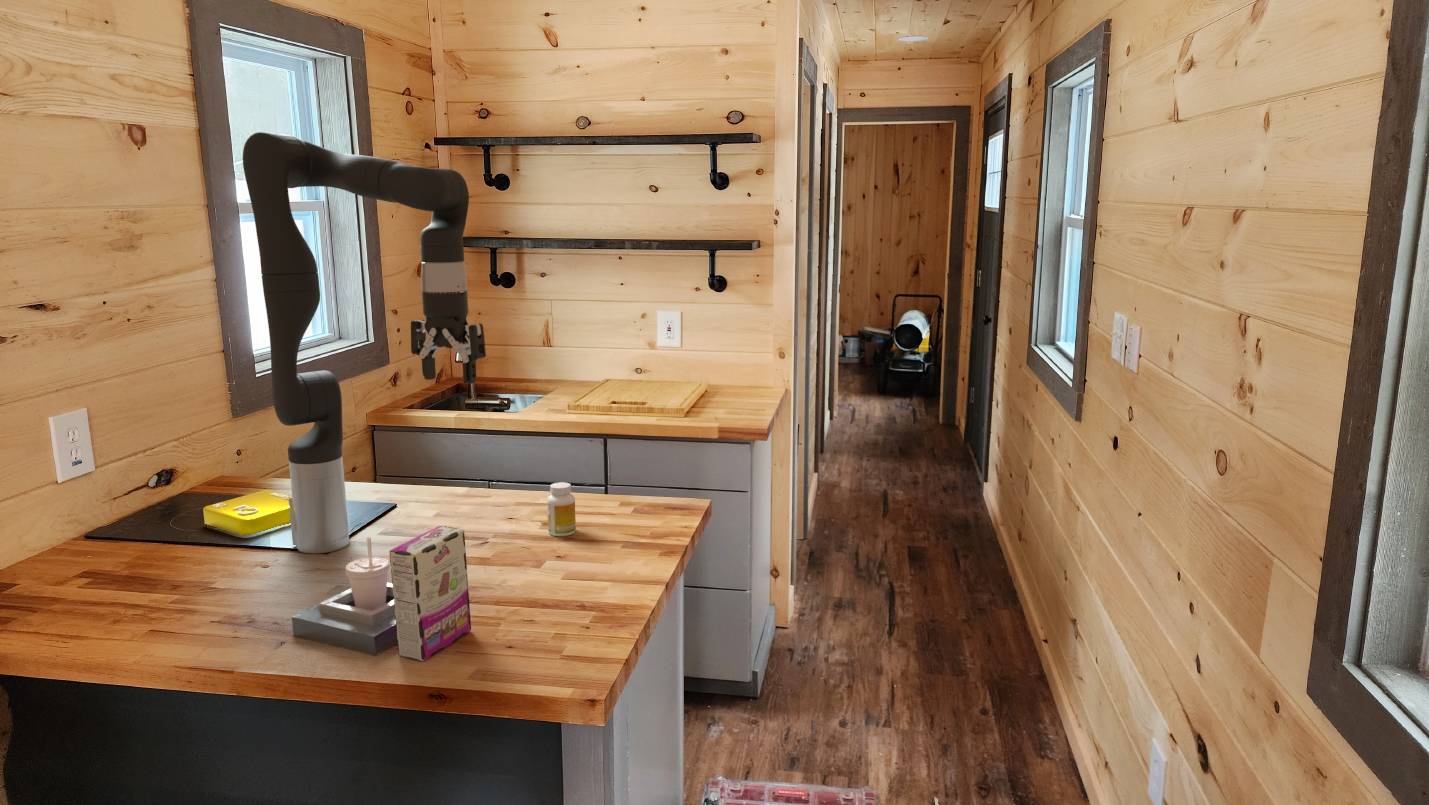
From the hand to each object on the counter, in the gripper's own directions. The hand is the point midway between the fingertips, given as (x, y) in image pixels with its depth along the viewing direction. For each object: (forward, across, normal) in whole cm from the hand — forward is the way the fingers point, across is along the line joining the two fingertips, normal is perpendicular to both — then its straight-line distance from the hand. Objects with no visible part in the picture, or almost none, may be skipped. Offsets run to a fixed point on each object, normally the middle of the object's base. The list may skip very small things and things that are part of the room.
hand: (449, 381), depth 165 cm
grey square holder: (+33, +5, -27) cm, 43 cm away
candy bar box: (+33, +18, -28) cm, 47 cm away
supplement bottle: (+33, +9, +20) cm, 40 cm away
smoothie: (+33, +5, -27) cm, 43 cm away
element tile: (+34, -50, -1) cm, 61 cm away
